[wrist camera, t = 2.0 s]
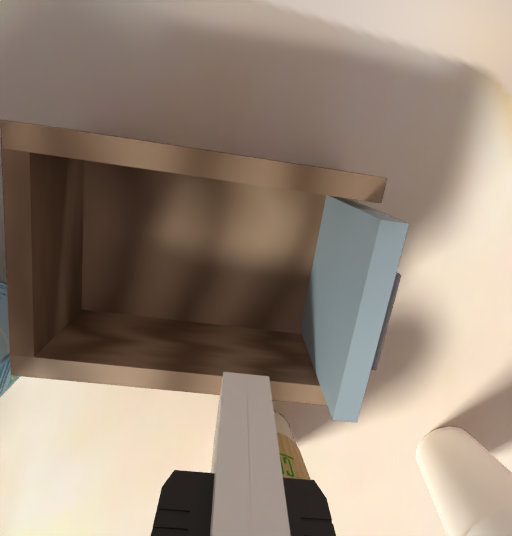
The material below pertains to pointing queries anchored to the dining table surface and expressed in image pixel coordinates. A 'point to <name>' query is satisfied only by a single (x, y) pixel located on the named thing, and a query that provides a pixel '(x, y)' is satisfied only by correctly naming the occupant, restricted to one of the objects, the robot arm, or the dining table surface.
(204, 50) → the dining table surface
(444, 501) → the foam cup
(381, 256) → the blue gray square panel
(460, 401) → the dining table surface
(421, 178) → the dining table surface
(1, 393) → the gum box
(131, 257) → the crate
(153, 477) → the dining table surface
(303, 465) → the coffee cup
